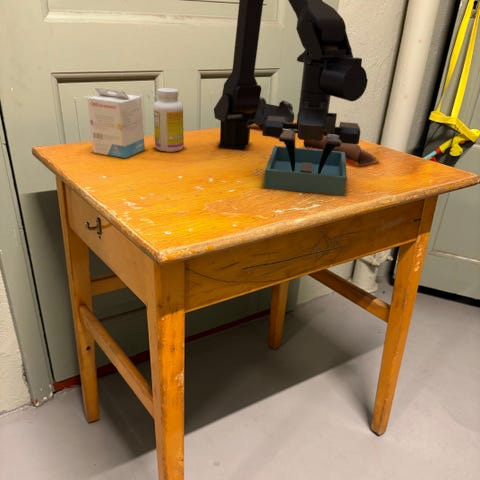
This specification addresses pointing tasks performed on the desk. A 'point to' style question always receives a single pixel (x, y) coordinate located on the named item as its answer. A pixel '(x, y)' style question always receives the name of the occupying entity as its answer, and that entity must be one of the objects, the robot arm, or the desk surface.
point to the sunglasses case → (346, 151)
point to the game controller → (272, 112)
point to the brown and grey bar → (306, 167)
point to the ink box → (116, 123)
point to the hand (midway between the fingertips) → (306, 173)
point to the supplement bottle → (168, 121)
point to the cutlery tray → (286, 179)
